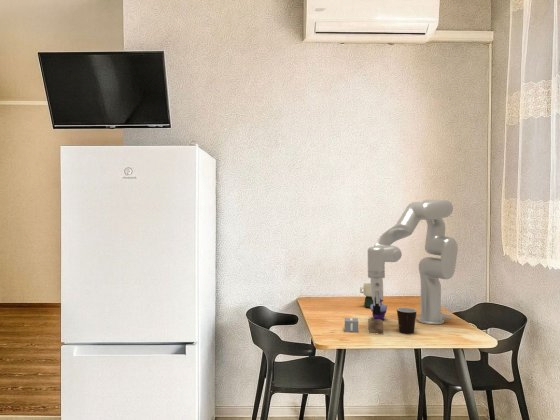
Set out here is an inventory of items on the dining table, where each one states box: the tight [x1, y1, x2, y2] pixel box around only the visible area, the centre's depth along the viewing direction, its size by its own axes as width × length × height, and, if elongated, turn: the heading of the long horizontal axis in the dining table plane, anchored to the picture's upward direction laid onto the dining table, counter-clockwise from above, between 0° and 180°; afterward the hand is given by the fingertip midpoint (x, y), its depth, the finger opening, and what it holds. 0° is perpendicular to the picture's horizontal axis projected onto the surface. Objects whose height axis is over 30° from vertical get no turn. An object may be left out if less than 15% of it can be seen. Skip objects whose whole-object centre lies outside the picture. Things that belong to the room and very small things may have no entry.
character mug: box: [359, 282, 373, 309], centre depth 250 cm, size 11×7×13 cm, turn 88°
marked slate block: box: [344, 317, 359, 333], centre depth 204 cm, size 6×6×5 cm
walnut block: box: [367, 318, 384, 335], centre depth 202 cm, size 6×6×5 cm
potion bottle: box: [370, 299, 388, 322], centre depth 224 cm, size 9×9×12 cm
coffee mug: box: [396, 307, 417, 335], centre depth 200 cm, size 12×9×10 cm
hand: (376, 314), depth 203 cm, fingers closed
